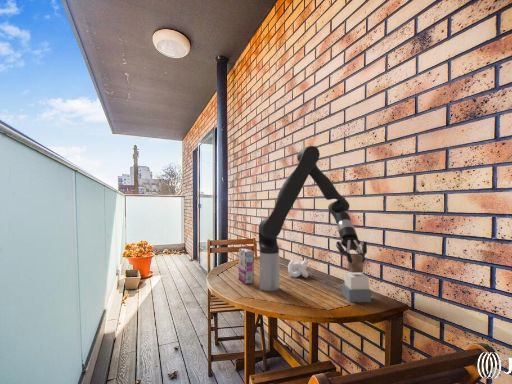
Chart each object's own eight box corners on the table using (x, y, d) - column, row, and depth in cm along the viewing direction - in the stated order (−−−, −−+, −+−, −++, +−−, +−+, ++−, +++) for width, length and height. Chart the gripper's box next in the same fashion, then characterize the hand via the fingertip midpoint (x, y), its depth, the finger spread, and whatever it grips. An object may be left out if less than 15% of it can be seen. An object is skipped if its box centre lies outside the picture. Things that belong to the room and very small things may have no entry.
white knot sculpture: (286, 278, 137) (286, 262, 138) (288, 273, 149) (288, 257, 149) (307, 280, 135) (307, 263, 135) (308, 274, 146) (308, 258, 147)
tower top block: (351, 289, 104) (350, 277, 104) (344, 284, 111) (344, 272, 112) (369, 289, 104) (368, 277, 104) (361, 283, 112) (361, 272, 112)
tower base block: (349, 302, 103) (349, 290, 103) (342, 294, 112) (342, 283, 112) (371, 302, 103) (371, 290, 103) (362, 294, 112) (362, 283, 112)
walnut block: (352, 272, 106) (351, 255, 106) (348, 269, 110) (348, 253, 111) (362, 272, 106) (362, 255, 106) (358, 269, 110) (358, 253, 111)
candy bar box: (254, 283, 128) (254, 251, 129) (245, 284, 126) (245, 251, 127) (246, 277, 138) (246, 248, 139) (238, 278, 136) (238, 248, 137)
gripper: (333, 226, 117) (342, 257, 104) (363, 226, 117) (376, 257, 104) (330, 236, 122) (338, 267, 109) (359, 236, 122) (371, 267, 109)
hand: (357, 262), depth 107 cm, fingers closed on walnut block, 4 cm apart
